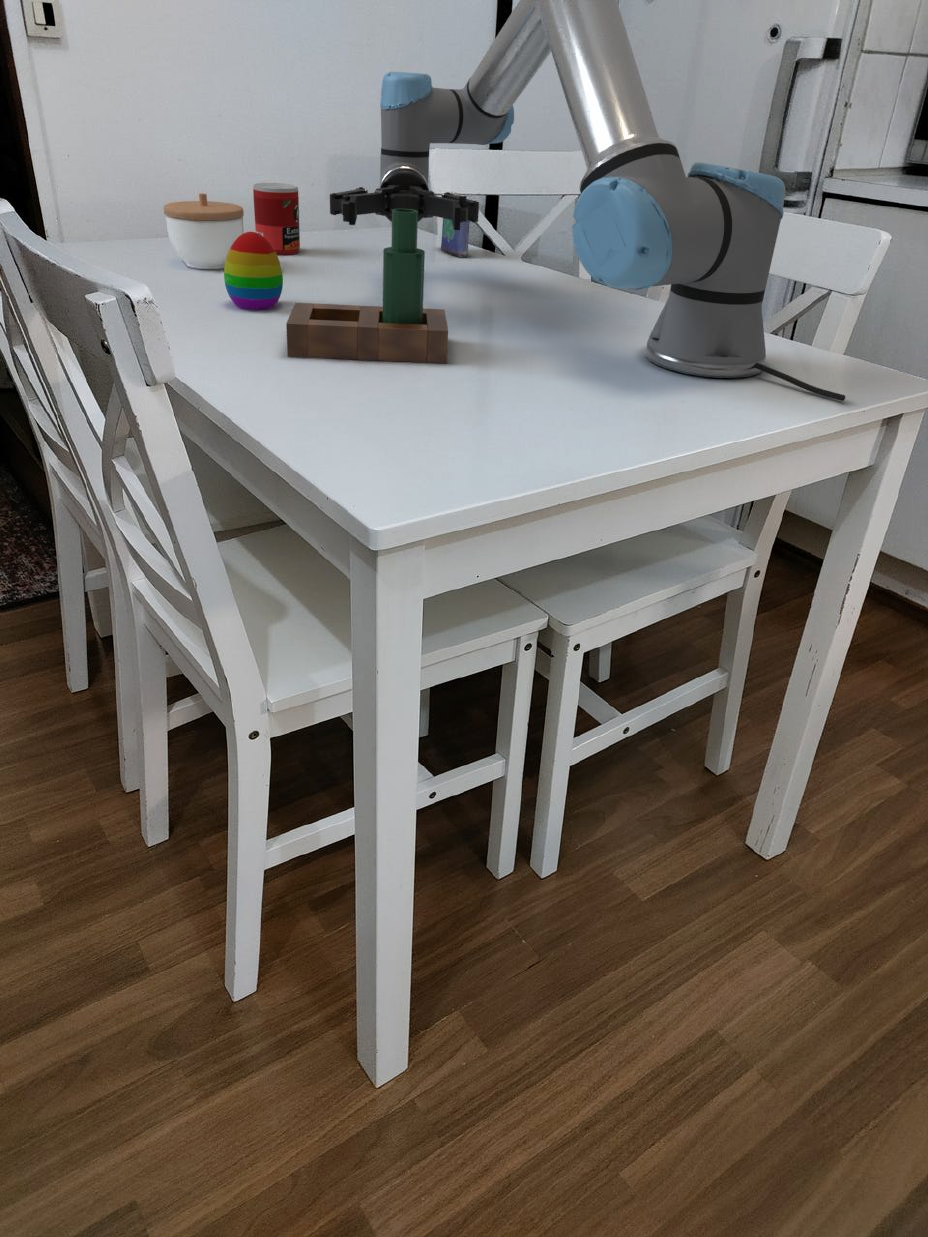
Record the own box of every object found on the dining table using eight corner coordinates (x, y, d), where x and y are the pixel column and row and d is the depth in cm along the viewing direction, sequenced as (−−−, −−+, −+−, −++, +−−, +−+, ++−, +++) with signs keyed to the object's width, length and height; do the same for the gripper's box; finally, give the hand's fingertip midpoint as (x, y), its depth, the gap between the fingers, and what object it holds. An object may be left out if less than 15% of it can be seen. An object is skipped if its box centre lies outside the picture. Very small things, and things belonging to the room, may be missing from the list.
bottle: (429, 350, 120) (434, 211, 111) (401, 356, 117) (405, 214, 108) (401, 341, 123) (405, 206, 114) (374, 347, 119) (375, 208, 111)
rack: (443, 339, 125) (444, 309, 123) (446, 363, 115) (448, 330, 113) (296, 333, 123) (295, 302, 121) (287, 356, 114) (286, 323, 112)
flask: (470, 257, 176) (473, 195, 171) (456, 257, 175) (459, 195, 170) (450, 248, 183) (452, 188, 178) (436, 248, 182) (438, 188, 177)
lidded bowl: (230, 275, 151) (225, 201, 145) (156, 268, 152) (148, 195, 146) (257, 261, 161) (253, 192, 156) (187, 255, 163) (181, 186, 157)
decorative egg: (225, 312, 131) (220, 235, 125) (226, 298, 137) (221, 225, 132) (285, 312, 132) (281, 237, 127) (283, 299, 139) (279, 227, 134)
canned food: (291, 256, 167) (289, 189, 161) (249, 252, 168) (245, 185, 162) (306, 249, 173) (304, 185, 168) (265, 245, 175) (262, 181, 169)
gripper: (486, 226, 141) (498, 251, 123) (320, 218, 139) (308, 242, 121) (489, 171, 137) (503, 189, 119) (319, 162, 135) (306, 179, 117)
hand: (404, 216), depth 120 cm, fingers open, 13 cm apart
